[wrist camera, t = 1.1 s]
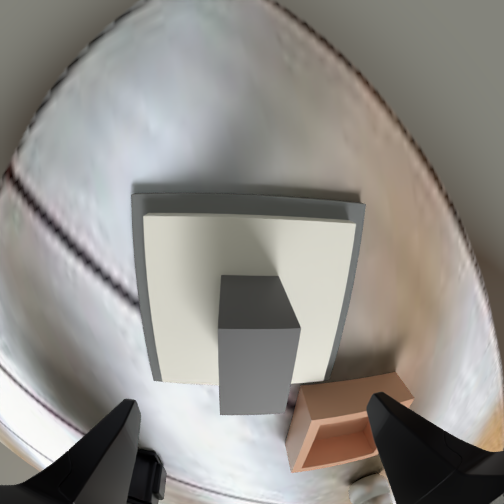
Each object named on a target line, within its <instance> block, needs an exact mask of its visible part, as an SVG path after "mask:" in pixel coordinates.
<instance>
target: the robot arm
mask: <svg viewBox="0 0 504 504" xmlns="http://www.w3.org/2000/svg"><path fill="white" fill-rule="evenodd" d="M366 411H367V415H368V419H369V423H370V427H371V431H372V435H373V439H374V442H375V445H376V447H377V450H378V453H379V455H380V458H381V461H382V464H383V466H384V469H385V472H386V475H387V478H388V480H389V483H390V486H391V489H392V492H393V495H394V498H395V501H396V504H504V451H500V452H489V451H486V450H483V449H481V448H478V447H476V446H474V445H471V444H469V443H467V442H465V441H463V440H460V439H458V438H457V437H455V436H453V435H451V434H449V433H448V432H446V431H444V430H443V429H441V428H439V427H438V426H436V425H434V424H433V423H431V422H430V421H428V420H426V419H425V418H423V417H422V416H420V415H418V414H417V413H415V412H414V411H412V410H410V409H409V408H407V407H406V406H404V405H403V404H401V403H399V402H398V401H396V400H395V399H393V398H392V397H390V396H389V395H387V394H386V393H384V392H377V393H373V394H372V396H371V398H370V400H369V402H368V404H367V408H366ZM140 422H141V413H140V410H139V407H138V404H137V402H136V401H135V400H132V399H124V400H123V401H122V402H121V403H120V404H119V405H118V406H116V407H115V408H114V409H113V410H112V411H111V412H110V413H109V414H108V415H107V416H106V417H104V418H103V419H102V420H101V421H100V422H99V423H98V424H97V425H96V426H95V427H94V428H92V429H91V430H90V431H89V432H88V433H87V434H86V435H85V436H84V437H83V438H81V439H80V440H79V441H78V442H77V443H76V444H75V445H74V446H72V447H71V448H70V449H69V451H67V452H66V453H65V454H63V455H62V456H61V457H60V458H59V459H57V460H56V461H55V462H54V463H52V464H51V465H50V466H48V467H47V468H45V469H44V470H42V471H41V472H39V473H38V474H36V475H34V476H33V477H31V478H30V479H28V480H26V481H25V482H23V483H20V484H16V485H0V504H158V501H159V500H163V499H164V492H165V483H166V475H167V473H166V471H165V469H164V467H163V465H162V464H161V463H160V461H159V459H158V456H157V454H156V453H154V452H150V451H144V450H138V449H137V448H138V439H139V430H140Z"/></svg>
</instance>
